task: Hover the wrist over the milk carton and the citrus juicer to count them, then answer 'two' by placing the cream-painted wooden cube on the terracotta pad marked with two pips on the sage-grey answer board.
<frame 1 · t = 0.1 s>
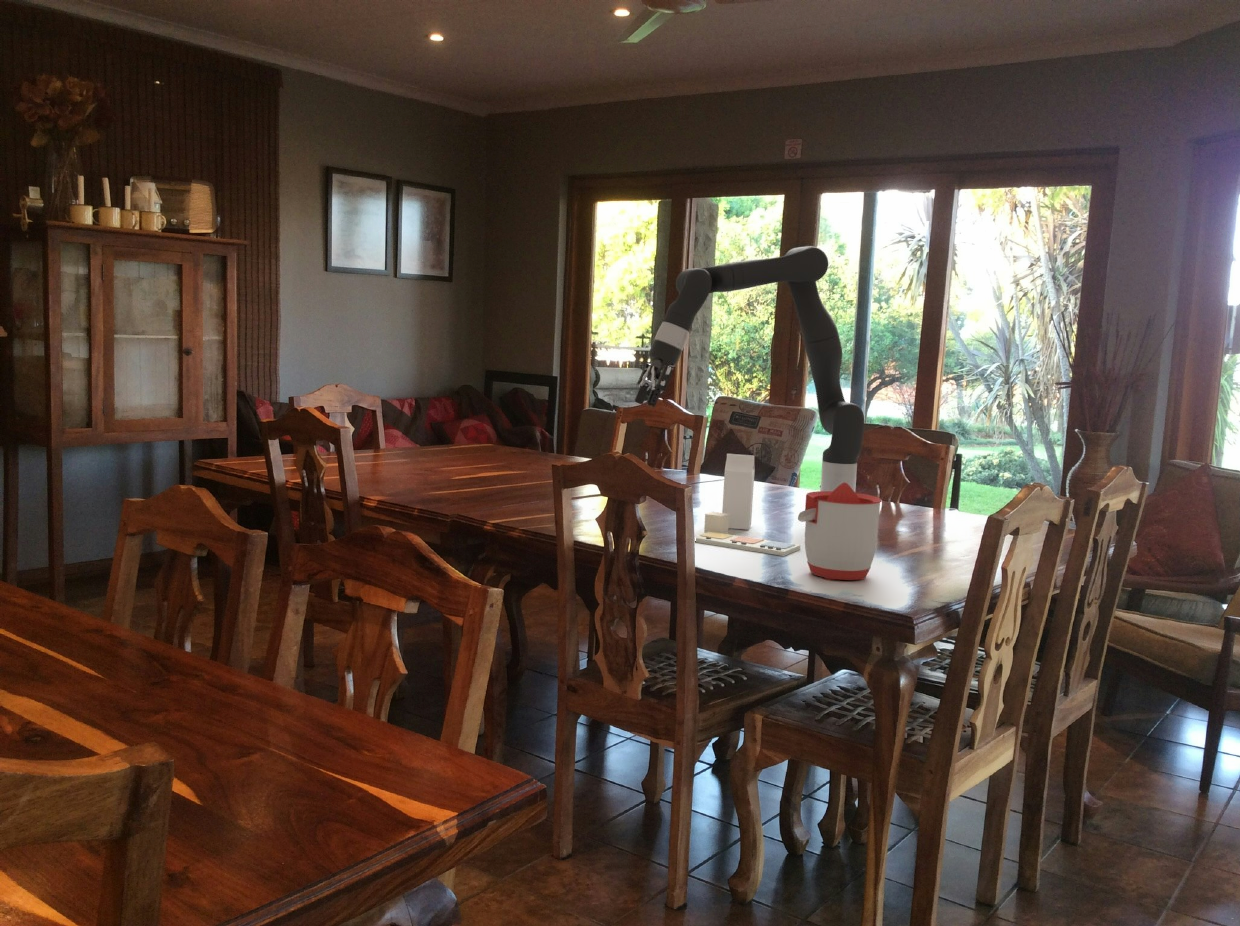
hand: (643, 404, 266), 31 cm above the table, tool tilted 20°, fingers open, 8 cm apart
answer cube: (716, 533, 269), on the table
answer board: (744, 545, 255), on the table
citrus juicer: (834, 576, 227), on the table
milk carton: (736, 527, 279), on the table
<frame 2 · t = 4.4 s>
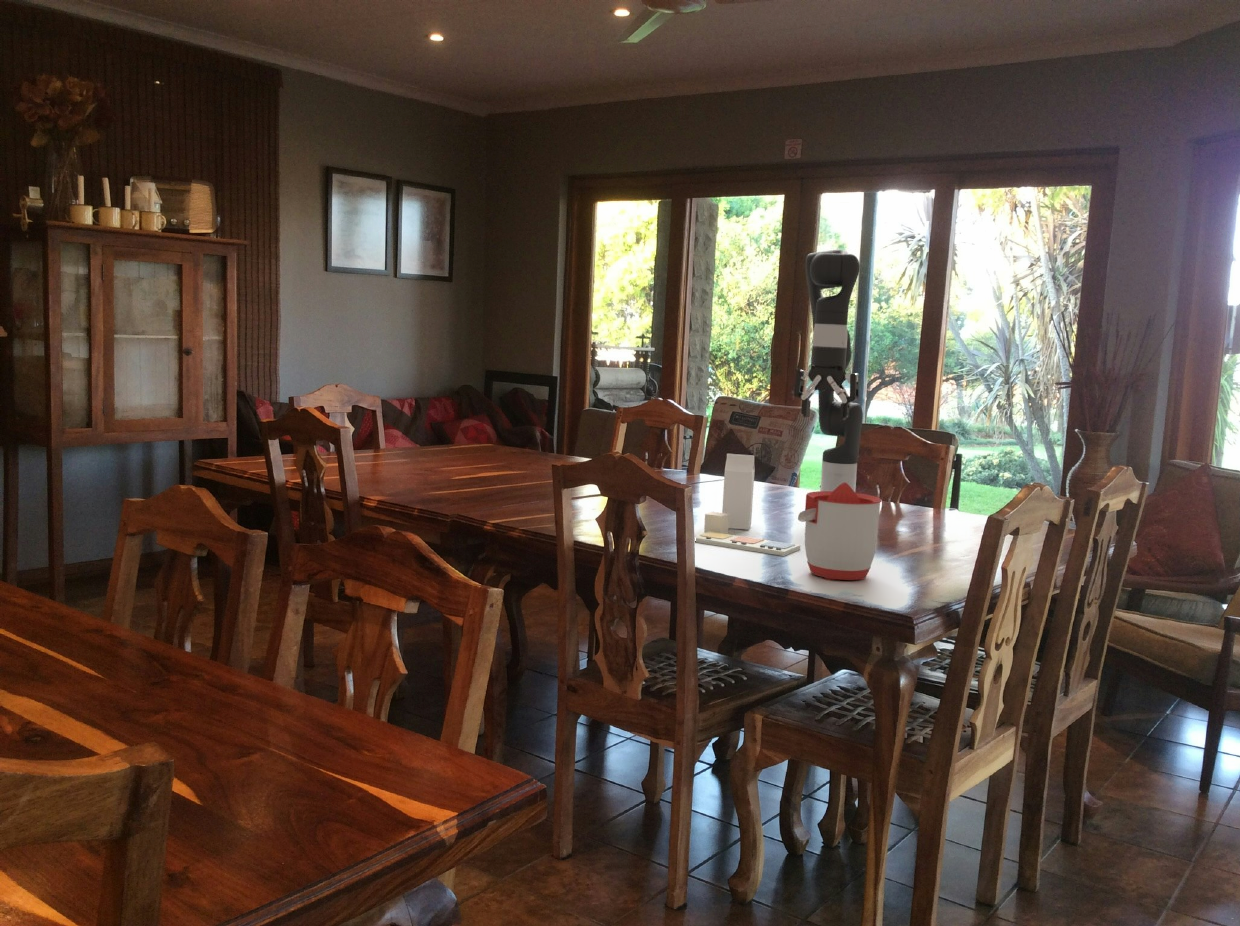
hand: (824, 418, 238), 32 cm above the table, tool pointing down, fingers open, 8 cm apart
nothing on the table moved.
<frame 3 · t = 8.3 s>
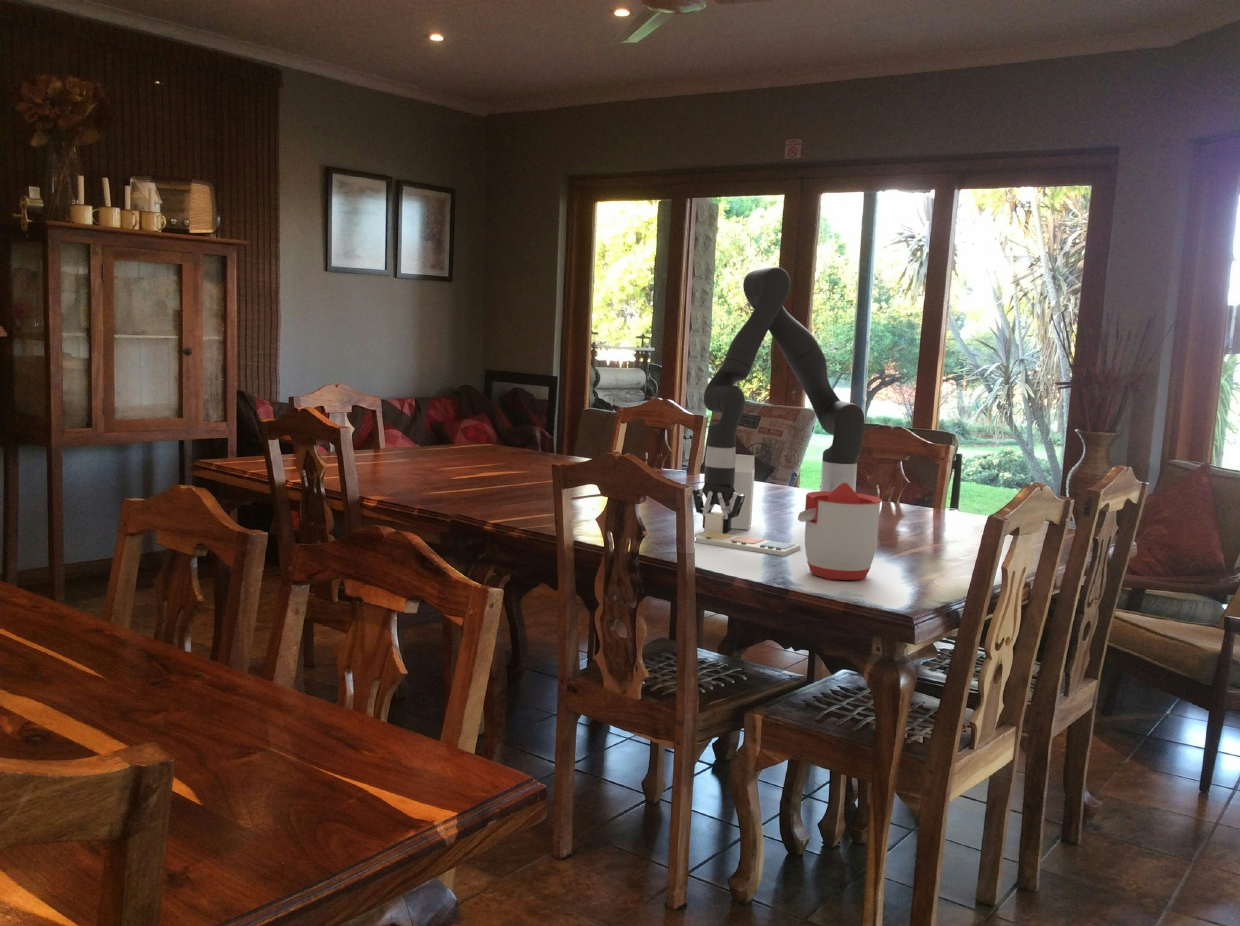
hand: (716, 531, 269), 0 cm above the table, tool pointing down, fingers closed on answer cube, 4 cm apart
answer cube: (716, 533, 269), on the table, touching gripper
everything else where it was.
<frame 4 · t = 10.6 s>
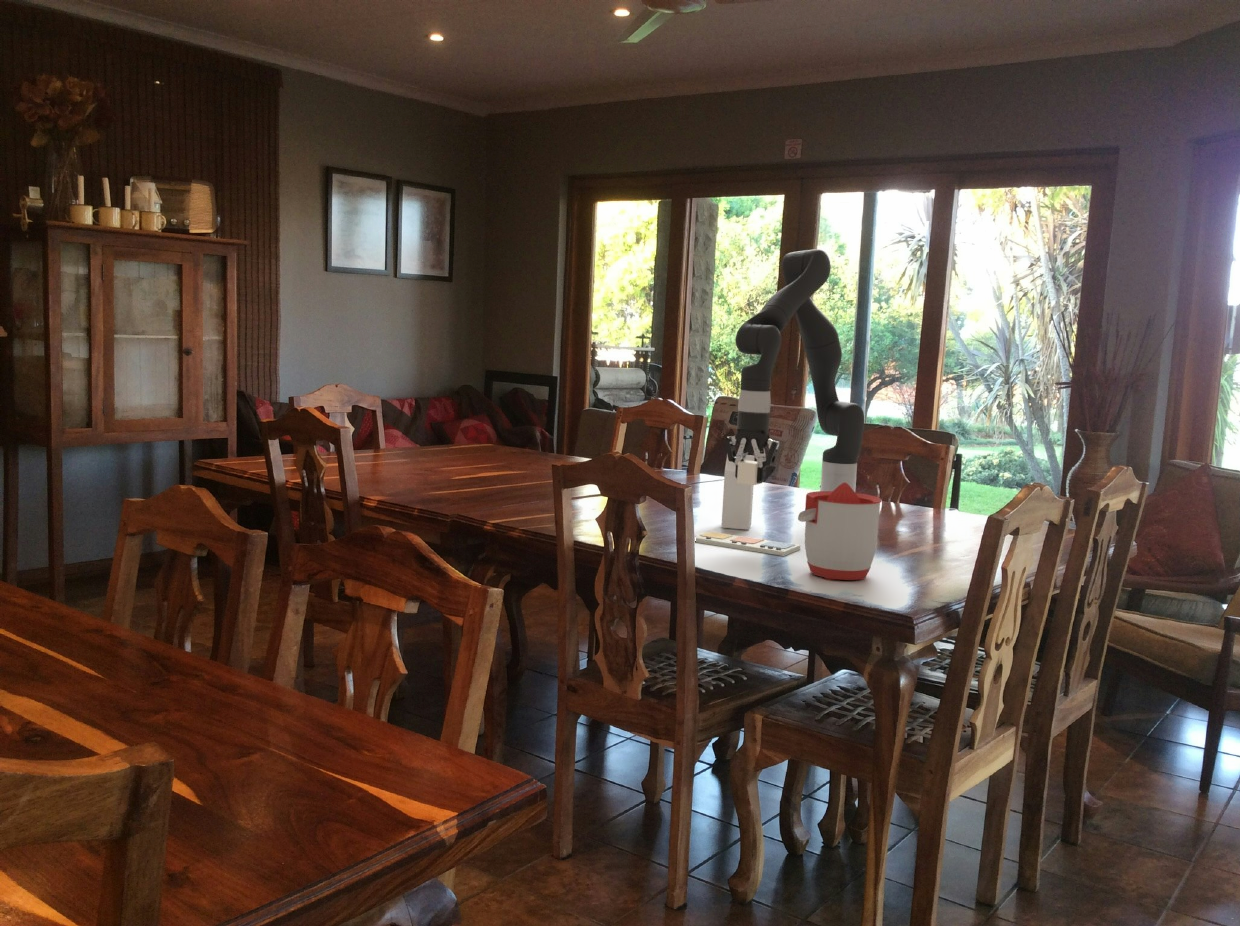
hand: (749, 481, 254), 15 cm above the table, tool pointing down, fingers closed on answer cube, 4 cm apart
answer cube: (749, 483, 254), point 15 cm above the table, touching gripper
everything else where it was.
when the fingers open (3 cm above the table, at t = 13.2 s): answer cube drops 2 cm, resting on answer board.
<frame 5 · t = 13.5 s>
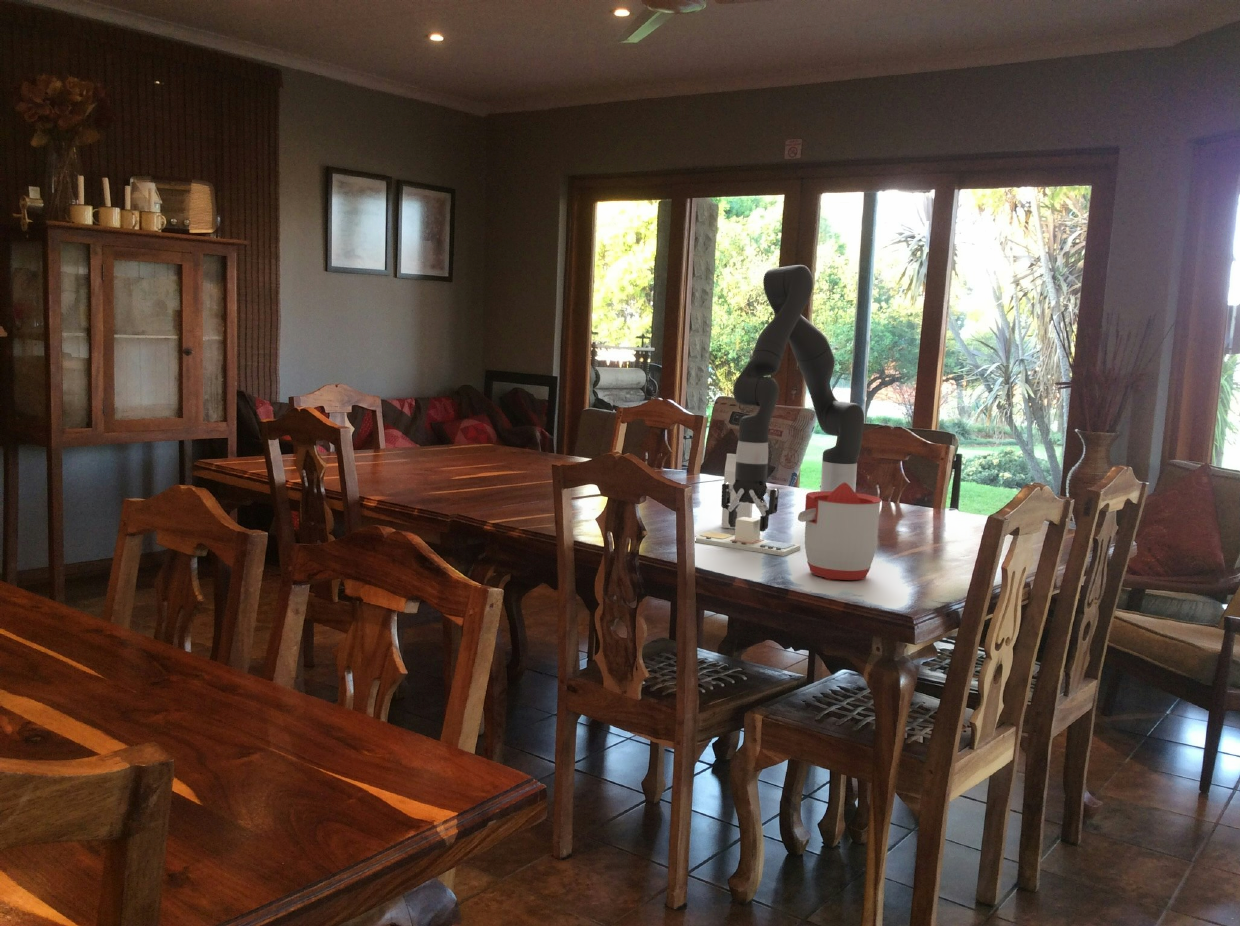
hand: (747, 528, 255), 4 cm above the table, tool pointing down, fingers open, 7 cm apart
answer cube: (747, 539, 256), point 1 cm above the table, touching answer board
everything else where it was.
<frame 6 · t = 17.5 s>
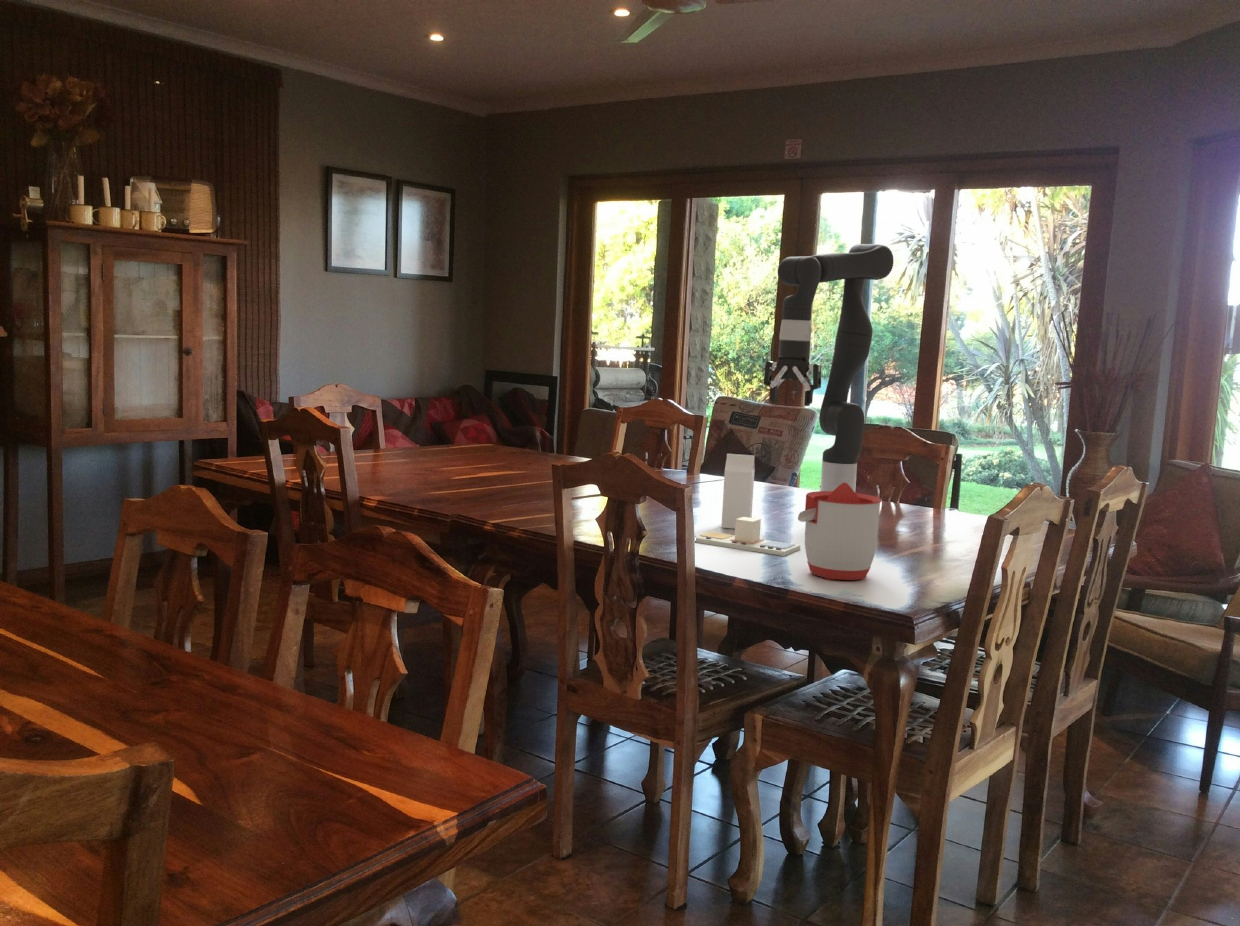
hand: (790, 404, 265), 33 cm above the table, tool pointing down, fingers open, 8 cm apart
nothing on the table moved.
at the end: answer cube inside the target area on the answer board (0.0 cm from its centre), point 1.2 cm above the answer board's base; the gripper is holding nothing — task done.
